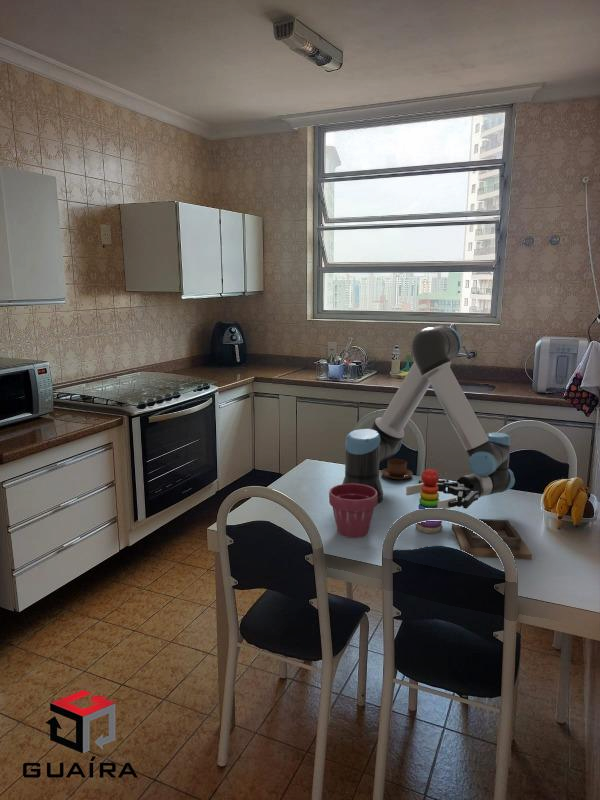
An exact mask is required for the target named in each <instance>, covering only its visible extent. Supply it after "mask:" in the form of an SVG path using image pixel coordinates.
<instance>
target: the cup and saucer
mask: <svg viewBox="0 0 600 800" xmlns="http://www.w3.org/2000/svg"><path fill="white" fill-rule="evenodd" d="M407 465H408V462H407V460H404V459H402V458H391V459H388V460H387V467H386V468H385V467H384V468H383V469H382V470H381V471H380V472H381V474H382V475H383V476H384V477H386V478H388V479H392V480H404V479H406V480H407V479H409V478H411V477H412V476H413V474H414V473H413V471H412V470H411V469H408V468H407V467H408V466H407ZM404 475H408V476H405V477H404Z"/></svg>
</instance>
